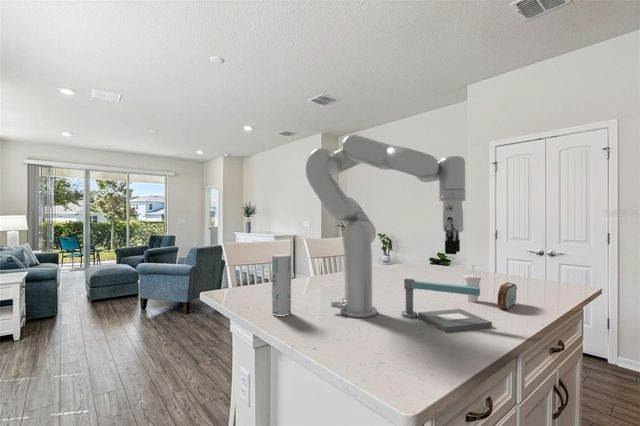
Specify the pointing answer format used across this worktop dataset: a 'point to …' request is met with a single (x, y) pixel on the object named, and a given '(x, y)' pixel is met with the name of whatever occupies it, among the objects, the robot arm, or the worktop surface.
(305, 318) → the worktop surface
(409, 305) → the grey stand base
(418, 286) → the swing bar
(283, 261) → the spray can
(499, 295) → the tin
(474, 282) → the smoothie
